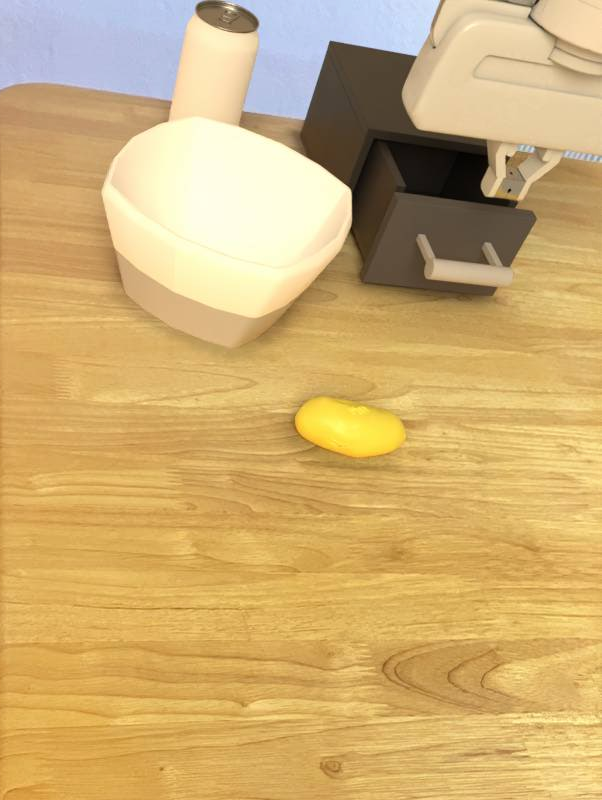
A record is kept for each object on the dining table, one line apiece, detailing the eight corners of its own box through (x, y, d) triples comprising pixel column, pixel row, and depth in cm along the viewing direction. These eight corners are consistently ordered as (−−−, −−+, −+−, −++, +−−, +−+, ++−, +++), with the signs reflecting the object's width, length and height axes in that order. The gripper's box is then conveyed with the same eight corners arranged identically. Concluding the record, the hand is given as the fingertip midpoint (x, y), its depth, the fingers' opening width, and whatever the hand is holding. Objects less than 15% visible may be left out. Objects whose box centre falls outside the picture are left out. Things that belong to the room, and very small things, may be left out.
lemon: (290, 411, 64) (307, 372, 61) (395, 439, 65) (416, 401, 62) (286, 452, 62) (303, 412, 59) (395, 480, 62) (417, 442, 59)
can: (154, 150, 82) (179, 14, 73) (177, 122, 86) (204, -11, 77) (218, 175, 82) (252, 42, 73) (238, 146, 86) (273, 16, 77)
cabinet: (464, 245, 84) (513, 150, 76) (330, 229, 81) (368, 128, 73) (420, 156, 93) (460, 63, 86) (298, 138, 90) (329, 40, 82)
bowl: (343, 289, 75) (384, 189, 68) (258, 403, 64) (296, 299, 57) (163, 200, 78) (184, 94, 70) (51, 295, 67) (63, 182, 59)
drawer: (511, 334, 75) (560, 256, 69) (376, 321, 72) (415, 238, 66) (445, 202, 86) (482, 125, 80) (327, 185, 83) (356, 104, 77)
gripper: (468, -8, 52) (382, 203, 62) (757, 45, 56) (631, 233, 67) (438, -52, 55) (362, 154, 66) (711, 2, 60) (599, 186, 71)
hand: (499, 194), depth 67 cm, fingers closed
